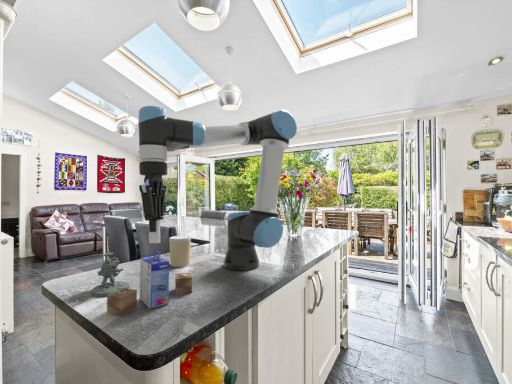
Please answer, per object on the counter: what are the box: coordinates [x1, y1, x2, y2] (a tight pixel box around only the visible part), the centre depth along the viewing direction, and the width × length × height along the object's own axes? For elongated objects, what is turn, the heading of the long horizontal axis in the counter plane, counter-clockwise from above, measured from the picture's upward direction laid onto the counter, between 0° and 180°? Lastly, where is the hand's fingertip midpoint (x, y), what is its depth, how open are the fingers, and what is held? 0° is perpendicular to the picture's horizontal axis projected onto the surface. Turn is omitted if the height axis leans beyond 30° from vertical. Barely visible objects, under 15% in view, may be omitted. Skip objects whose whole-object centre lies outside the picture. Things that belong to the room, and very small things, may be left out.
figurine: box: [90, 251, 130, 298], centre depth 82 cm, size 11×11×12 cm
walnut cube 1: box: [106, 288, 138, 317], centre depth 68 cm, size 5×5×5 cm
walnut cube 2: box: [174, 271, 193, 296], centre depth 81 cm, size 5×5×5 cm
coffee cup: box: [168, 235, 192, 268], centre depth 110 cm, size 9×9×12 cm
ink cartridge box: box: [138, 249, 170, 310], centre depth 73 cm, size 10×6×14 cm, turn 41°
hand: (154, 242), depth 73 cm, fingers closed
